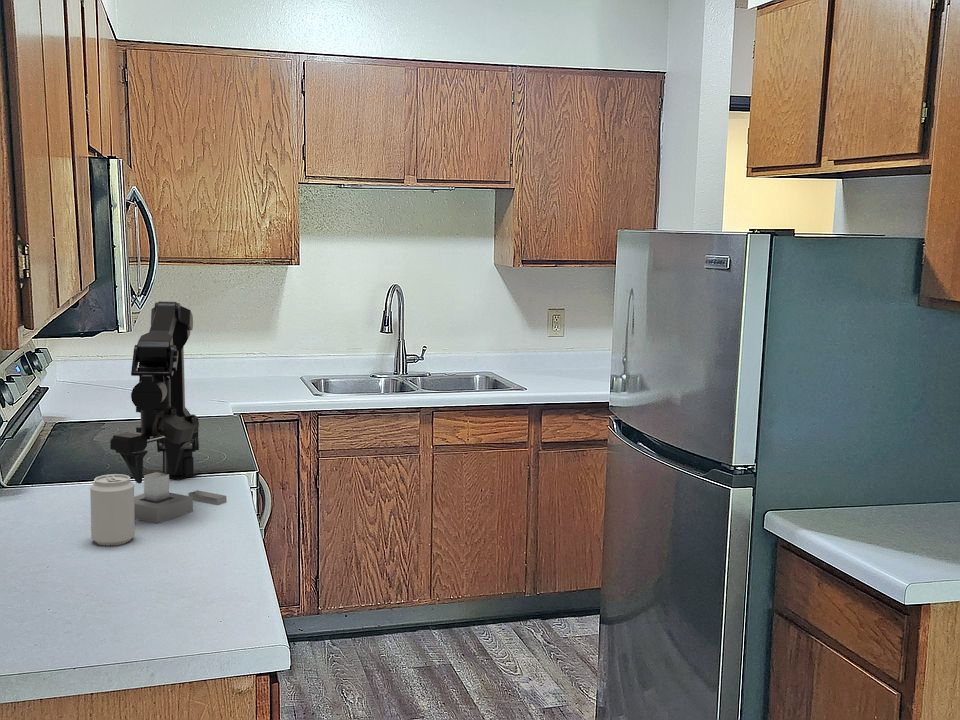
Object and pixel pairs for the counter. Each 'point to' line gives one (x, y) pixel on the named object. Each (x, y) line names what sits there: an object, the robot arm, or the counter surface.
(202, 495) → the flat bit
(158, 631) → the counter surface
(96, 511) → the can
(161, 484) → the square bit
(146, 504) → the bore block
